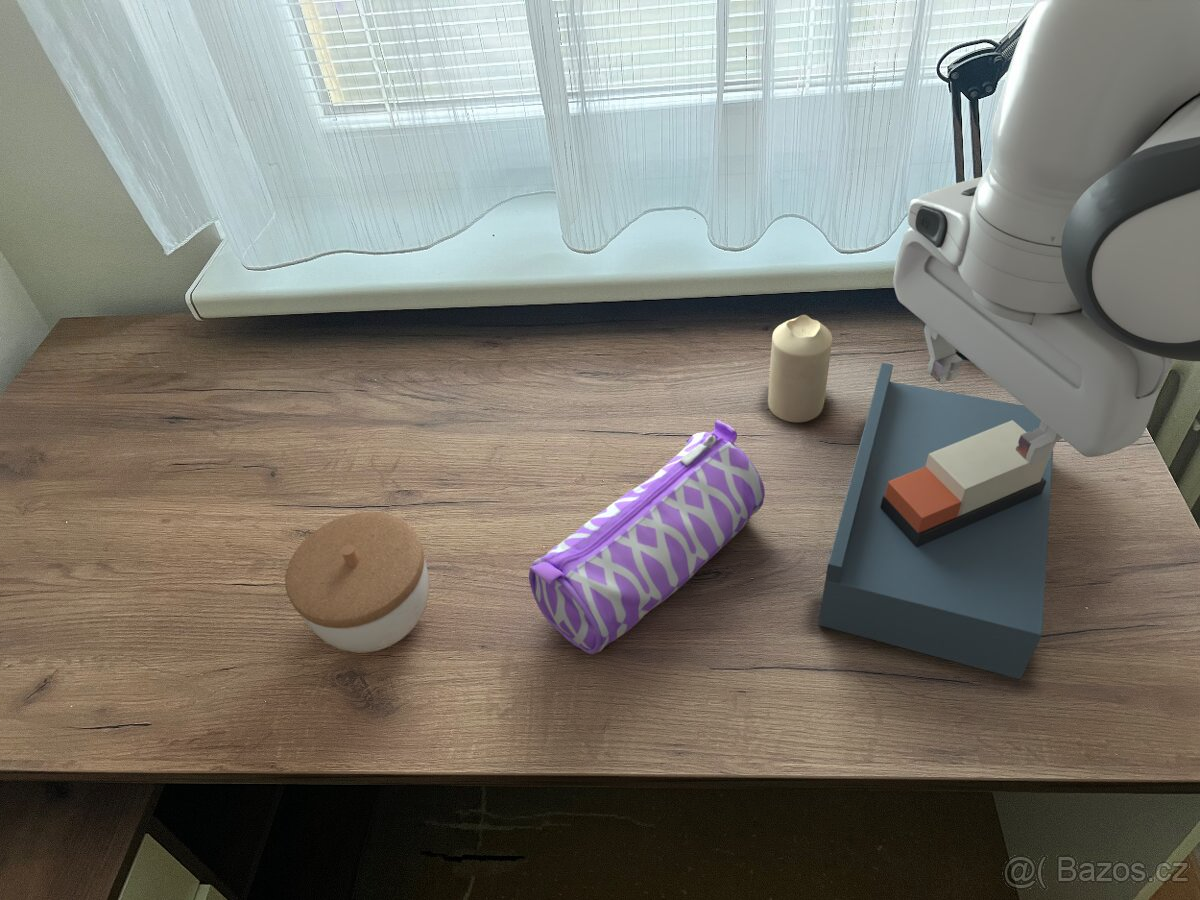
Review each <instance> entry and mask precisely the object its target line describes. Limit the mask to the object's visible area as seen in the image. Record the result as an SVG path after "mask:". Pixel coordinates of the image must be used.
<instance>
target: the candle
mask: <svg viewBox="0 0 1200 900" xmlns="http://www.w3.org/2000/svg"><path fill="white" fill-rule="evenodd" d="M832 346H833V334H832V332H831V331H830V329H829V328H827V327H826V326H825V325H824V324H822V323H821V322H820V321H819V320H817V319H812V318H811V317H810V316H809V315H807V314H801V315H799V316H798V317H795V318H792V319H789V320H786V321H784V322H782V323H780V324H779V325H777V327H776V328H775V329H774V330H773V332H772V338H771V351H770V363H769V366H770V367H769V379H768V392H767V405H768V408H769V410H770V412H771V413H772V414H773V415H774V416H775V417H777V418H779V419H780V420H783V421H785V422H788V423H789V422H791V423H805V422H809V421H812V420H814V419H815V418H817V417H818V416H819V415H820V414H821V413H822V411H823V409H824V404H825V399H826V391H827V385H828V377H829V368H830V361H831V353H832Z"/></svg>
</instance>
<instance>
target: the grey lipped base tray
mask: <svg viewBox="0 0 1200 900" xmlns="http://www.w3.org/2000/svg"><path fill="white" fill-rule="evenodd" d="M893 368H894V364H892V363H886V362H881V364H880V368H879V372H878V375H877V379H876V383H875V386H874V389H873V390H874V391H873V394H872V398H871V401H870V404H869V405H870V406H869V408H868V409H869V410H868V412H867V417H866V421H865V424H864V428H863V432H862V435H861V439H860V443H859V447H858V450H857V454H856V457H855V461H854V466H853V470H852V473H851V476H850V481H849V484H848V488H847V492H846V495H845V499H844V502H843V507H842V509H841V514H840V517H839V522H838V526H837V529H836V533H835V536H834V540H833V544H832V547H831V551H830V555H829V559H828V562H827V563H828V564H827V569H826V574H825V580H824V587H823V591H822V592H823V593H822V598H821V604H820V610H819V616H818V622H817V625H818V626H821V627H825V628H827V629H832V630H836V631H838V632H839V631H840V632H844V633H846V634H850V635H855V636H858V637H862V638H865V639H869V640H873V641H876V642H880V643H883V644H887V645H890V646H894V647H899V648H903V649H906V650H910V651H913V652H917V653H921V654H924V655H928V656H932V657H936V658H940V659H943V660H947V661H950V662H954V663H956V664H957V663H958V664H960V665H961V664H962V665H965V666H968V667H971V668H976V669H979V670H984V671H987V672H991V673H994V674H998V675H1002V676H1005V677H1010V678H1013V679H1017V680H1021V679H1022V677H1023V674H1024V672H1025V671H1026V669H1027V667H1028V664H1029V662H1030V660H1031V659H1032V656H1033V654H1034V652H1035V650H1036V648H1037V646H1038V645H1039V642H1040V640H1041V638H1042V637H1043V627H1044V611H1045V595H1046V594H1045V593H1046V592H1045V591H1046V578H1047V577H1046V575H1047V562H1048V561H1047V559H1048V541H1049V527H1050V526H1049V525H1050V509H1051V492H1052V479H1053V477H1052V475H1053V460H1054V459H1053V458H1054V450H1053V451H1052V453H1051V456H1050V458H1049V461H1048V463H1047V466H1046V468H1045V471H1044V473H1043V476H1042V478H1044V479H1045V480H1046V481H1047V482H1046V485H1045V487H1044V490H1043V492H1042V494H1040V495H1038V496H1036V497H1033V498H1031V499H1029V500H1026V501H1024V502H1022V503H1019V504H1017V505H1015V506H1012V507H1010V508H1008V509H1005V510H1003V511H1001V512H998V513H996V514H994V515H991V516H989V517H987V518H984V519H982V520H980V521H977V522H975V523H973V524H970V525H968V526H966V527H963V528H961V529H959V530H956V531H954V532H952V533H949V534H947V535H945V536H942V537H940V538H938V539H935V540H933V541H931V542H928V543H926V544H924V545H921V546H919V547H916V546H915V545H914V544H913V543H912V542H911V541H910V540H909V539H908V538H907V537H906V535H905V534H904V533H903V532H902V531H901V530H900V529H899V528H898V527H897V525H896V524H895V523H894V522H893V521H892V520H891V519H890V518H889V517H888V516H887V514H886V513H885V512H884V511H883V510H882V509H881V508H880V507H881V502H882V498H883V495H885V493H886V489H887V484H888V482H889V481H891V480H894V479H896V478H899V477H901V476H903V475H906V474H908V473H911V472H913V471H916V470H918V469H921V468H923V467H926V463H927V459H928V455H929V454H930V453H932V452H935V451H937V450H940V449H942V448H945V447H947V446H950V445H952V444H955V443H957V442H960V441H962V440H964V439H967V438H969V437H972V436H974V435H977V434H979V433H982V432H984V431H987V430H989V429H992V428H994V427H997V426H999V425H1002V424H1004V423H1007V422H1009V421H1012V420H1013V421H1014V422H1015V423H1016V424H1018V425H1019V426H1020V427H1021V428H1022V429H1023V430H1025V431H1026V432H1033V430H1034V429H1037V428H1039V426H1040V423H1041V421H1042V420H1040V419H1039V418H1038V417H1037V416H1036V415H1034V414H1033V413H1032V412H1031V411H1030V410H1028V409H1027V408H1026V407H1025V406H1024V405H1022V404H1018V403H1014V402H1013V403H1012V402H1006V401H1002V400H995V399H989V398H984V397H979V396H974V395H968V394H963V393H956V392H952V391H951V392H950V391H946V390H939V389H933V388H928V387H922V386H918V385H911V384H905V383H901V382H895V381H891V377H892V372H893Z"/></svg>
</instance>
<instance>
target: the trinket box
mask: <svg viewBox="0 0 1200 900" xmlns="http://www.w3.org/2000/svg"><path fill="white" fill-rule="evenodd" d="M424 553H425V552H424V548H423V544H422V542H421V540H420V537H419V534H418V533H417V532H416V530H415V529H414V528H413V526H411V525H410V524H409V523H408V522H406V521H405V520H404V519H401V518H400V517H399V516H398V517H397V516H396V515H392V514H389V513H385V512H376V511H365V512H357V513H352V514H347V515H344V516H340V517H338V518H336V519H333V520H331V521H329V522H328V523H325V524H324V525H322V526H320V527H319V528H317V529H316V530H315V531H313V532H312V533H311V534H310V535H308V536H307V537H306V538H305V539H304V540H303V541H302V543H300V544H299V546H298V547H297V549H296V550H294V553H293V555H292V557H291V558H290V560H289V562H288V565H287V568H286V571H285V578H284V580H285V581H284V582H285V583H284V584H285V591H286V595H287V597H288V599H289V601H290V603H291V605H292V607H293V609H295V610H296V612H297V613H298V614H299V616H300V617H301V619H302V621H304V623H305V624H306V625H307V626H308V628H309V629H310V630H311V631H312V632H313V633H314V634H315V636H318V637H319V639H321V640H322V641H324V642H325V643H326V644H328V645H330V646H332V647H334V648H336V649H339V650H341V651H345V652H349V653H361V654H362V653H373V652H377V651H380V650H384V649H387V648H390V647H391V646H394V645H395V644H396V643H398V642H400V641H401V640H403V639H404V638H405V637H406V636H407V635H408V634H410V633H411V632H412V631H413V630H414V628H415V627H416V626H417V625H418V623H419V621H420V620H421V618H422V616H423V614H424V612H425V610H426V607H427V603H428V600H429V595H430V577H429V569H428V564H427V560H426V557H425V554H424Z"/></svg>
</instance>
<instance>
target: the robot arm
mask: <svg viewBox="0 0 1200 900" xmlns="http://www.w3.org/2000/svg"><path fill="white" fill-rule="evenodd" d="M991 150H992V151H991V157H990V160H989V164H988V166H987V168H986V170H985V172H984V174H983V175H982V176H980V177H976V178H971V179H968V180H963V181H960V182H956V183H953V184H949V185H946V186H943V187H940V188H938V189H935V190H932V191H929V192H927V193H924V194H922V195H920V196H917V197H915V198H913V199H912V200H911V201H910V202H909V205H908V210H907V222H908V225H909V227H908V228H907V229H906V230H905V231H904V234H903V235H902V238H901V241H900V244H899V249H898V251H897V256H896V261H895V266H894V272H893V278H892V279H893V280H892V284H893V288H894V292H895V295H896V298H897V300H898V302H899V303H900V304H901V305H902V306H904V307H905V308H906V309H908V310H909V311H910V312H911V313H912V314H913V315H915V316H916V317H917V318H918V319H919V320H921V321H922V322H923V323H924V324H925V325H924V329H923V334H924V338H925V342H926V346H927V350H928V356H930V357H929V360H928V364H927V369H926V373H928V375H930V377H932V378H933V379H935V380H936V381H937V382H938V383H939V384H940V385H941V384H946V383H947V381H950V382H951V381H953V380H955V379H956V378H958V376H959V374H960V368H961V367H962V364H963V359H962V358H961V357H960V356H959V355H958V354H957V351H958V352H959V353H960V354H962V356H963V357H965V358H966V359H967V360H969V362H971V363H972V364H973V365H974V366H976V367H977V368H978V369H979V370H981V371H982V372H983V374H986V375H987V376H988V377H989V378H990V379H992V381H993V382H995V383H996V384H997V385H998V386H1000V387H1001V388H1002V389H1003V390H1005V392H1007V393H1008V394H1009V395H1010V396H1012V397H1013V398H1014V399H1015V400H1016V401H1017V402H1019V403H1020V405H1024V406H1025V407H1026V408H1027V409H1028V410H1030V411H1031V412H1032V413H1033V414H1034V415H1036V416H1037V417H1038V418H1039V419H1040V420H1042V421H1041V423H1040V426H1039V428H1037V429H1034V430H1033V432H1027V433H1024V434H1022V435H1021V436H1020V438H1019V441H1018V443H1019V445H1018V446H1016V451H1017V452H1018V453H1019V454H1020V455H1021V456H1022V457H1023V458H1024V459H1025V460H1026V461H1028V462H1029V463H1030V464H1032V465H1033V464H1036V463H1038V462H1041V461H1043V460H1045V459H1047V458H1048V457H1049V456H1050V455H1051V453H1052V451H1053V452H1054V449H1055V446H1056V444H1057V442H1059V441H1062V440H1064V441H1065V442H1066V443H1068V444H1069V445H1070V446H1072V447H1073V448H1074V449H1075V450H1076V451H1077V452H1078V453H1080V454H1081V455H1083V456H1084V457H1087V458H1096V457H1101V456H1106V455H1109V454H1113V453H1116V452H1118V451H1121V450H1123V449H1125V448H1127V447H1129V446H1130V445H1131V446H1132V445H1133V444H1135V443H1136V442H1137V441H1138V440H1140V439H1141V437H1142V436H1143V435H1144V434H1145V433H1144V432H1145V430H1146V429H1147V426H1148V424H1149V422H1150V419H1151V416H1152V414H1153V411H1154V408H1155V406H1156V402H1157V399H1158V396H1159V392H1160V388H1161V386H1162V385H1163V383H1164V381H1165V379H1166V378H1167V376H1168V374H1169V371H1170V369H1171V368H1172V363H1173V360H1175V361H1183V362H1184V361H1185V362H1200V0H1036V1H1035V3H1034V5H1033V7H1032V9H1031V10H1030V13H1029V15H1028V16H1027V19H1026V21H1025V23H1024V25H1023V28H1022V31H1021V33H1020V36H1019V38H1018V41H1017V44H1016V46H1015V49H1014V52H1013V55H1012V57H1011V61H1010V63H1009V66H1008V69H1007V73H1006V75H1005V79H1004V82H1003V86H1002V88H1001V93H1000V96H999V99H998V102H997V106H996V110H995V113H994V116H993V121H992V125H991Z"/></svg>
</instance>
